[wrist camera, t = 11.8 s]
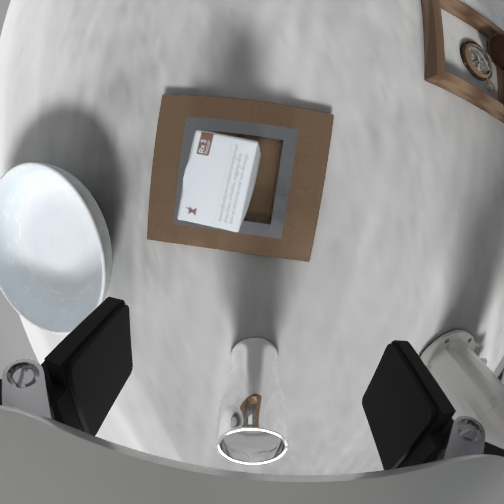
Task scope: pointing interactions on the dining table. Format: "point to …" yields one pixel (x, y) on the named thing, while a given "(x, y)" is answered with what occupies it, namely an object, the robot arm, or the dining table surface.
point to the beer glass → (253, 406)
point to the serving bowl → (52, 247)
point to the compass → (484, 57)
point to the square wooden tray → (436, 56)
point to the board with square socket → (267, 182)
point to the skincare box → (219, 180)
